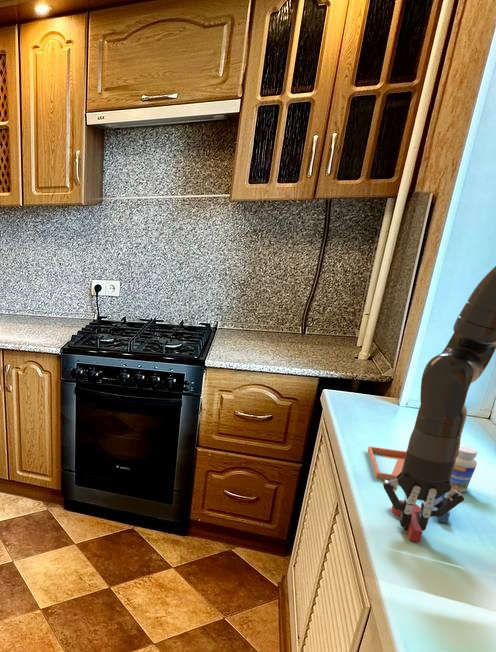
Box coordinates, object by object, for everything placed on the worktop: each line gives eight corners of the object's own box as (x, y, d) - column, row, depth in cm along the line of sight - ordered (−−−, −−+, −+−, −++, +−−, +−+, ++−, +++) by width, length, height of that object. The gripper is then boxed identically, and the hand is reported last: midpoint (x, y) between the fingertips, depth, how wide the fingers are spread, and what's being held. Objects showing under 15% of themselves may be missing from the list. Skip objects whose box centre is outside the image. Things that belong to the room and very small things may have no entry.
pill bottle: (444, 490, 121) (458, 453, 117) (432, 478, 125) (446, 442, 122) (471, 494, 119) (486, 456, 116) (459, 481, 124) (473, 445, 121)
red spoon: (389, 505, 115) (392, 495, 114) (416, 509, 113) (419, 500, 112) (399, 538, 104) (402, 528, 103) (429, 544, 102) (432, 533, 101)
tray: (367, 453, 140) (368, 446, 139) (413, 459, 135) (415, 452, 135) (375, 480, 126) (377, 472, 125) (427, 488, 122) (429, 481, 121)
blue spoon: (415, 490, 121) (417, 481, 121) (440, 494, 119) (443, 485, 119) (428, 519, 110) (431, 510, 109) (456, 525, 108) (459, 515, 107)
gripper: (471, 450, 100) (448, 527, 106) (386, 438, 106) (368, 512, 112) (483, 466, 94) (458, 548, 100) (391, 453, 100) (373, 531, 106)
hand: (411, 529), depth 106 cm, fingers closed on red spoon
